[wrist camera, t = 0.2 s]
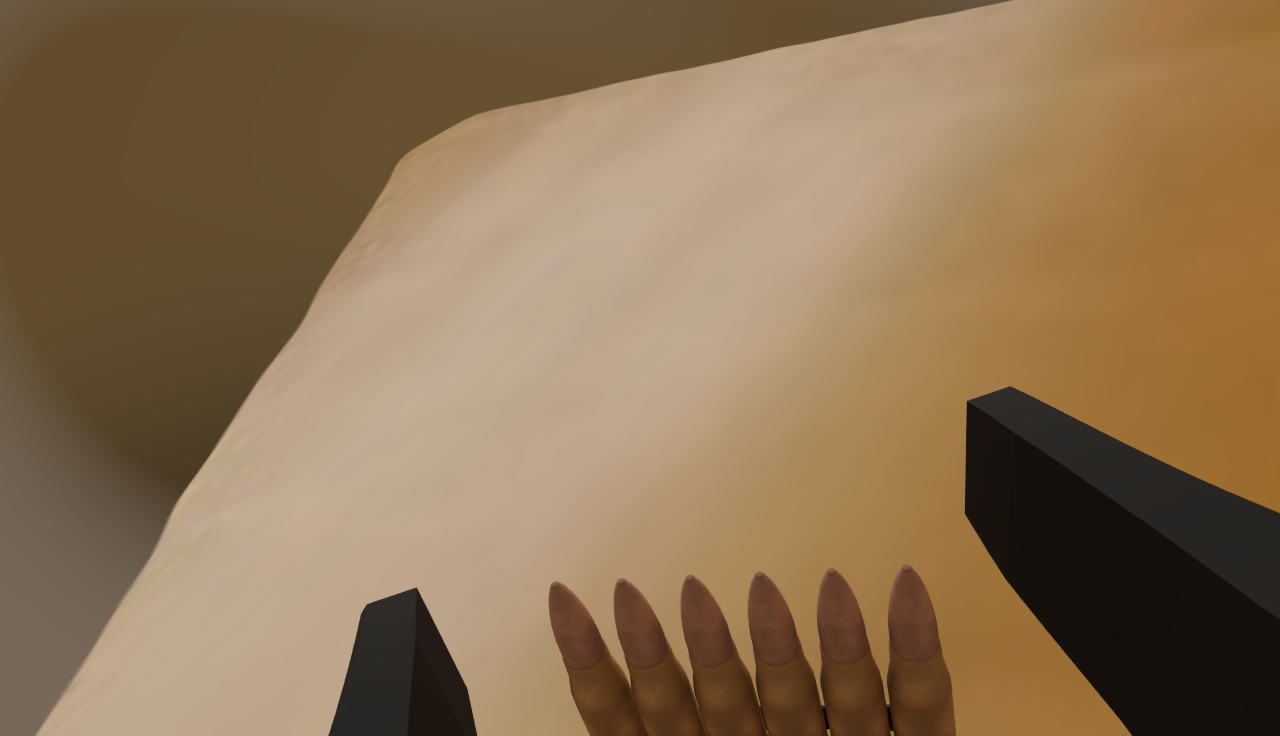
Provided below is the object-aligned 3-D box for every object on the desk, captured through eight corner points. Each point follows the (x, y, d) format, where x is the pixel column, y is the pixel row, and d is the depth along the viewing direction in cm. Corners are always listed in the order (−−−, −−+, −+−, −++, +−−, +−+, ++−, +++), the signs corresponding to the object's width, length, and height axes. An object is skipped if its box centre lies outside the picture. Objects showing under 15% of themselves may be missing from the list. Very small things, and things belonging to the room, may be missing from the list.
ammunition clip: (963, 798, 30) (944, 534, 23) (971, 857, 29) (952, 596, 22) (634, 794, 33) (528, 558, 26) (626, 848, 31) (511, 613, 24)
